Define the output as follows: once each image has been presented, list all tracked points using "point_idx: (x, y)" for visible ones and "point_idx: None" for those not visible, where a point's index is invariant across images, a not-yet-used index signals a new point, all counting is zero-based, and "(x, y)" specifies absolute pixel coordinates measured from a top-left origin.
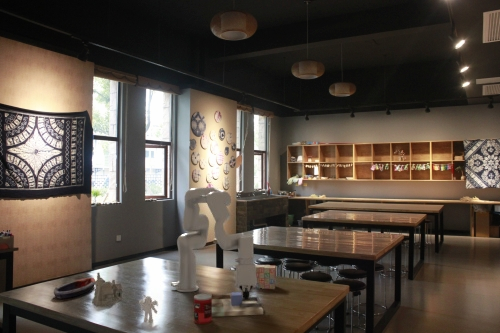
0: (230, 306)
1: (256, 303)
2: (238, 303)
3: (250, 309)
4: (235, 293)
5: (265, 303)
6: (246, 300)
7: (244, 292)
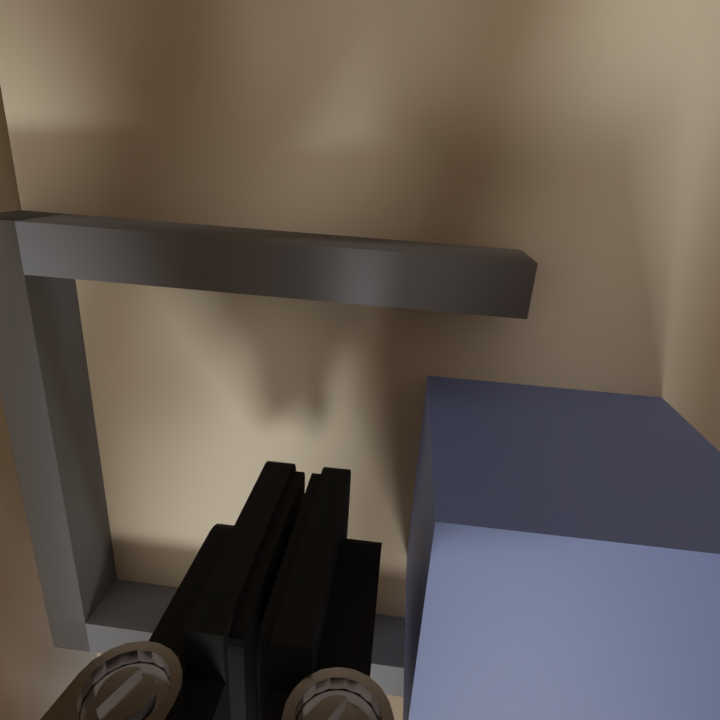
0: (707, 370)
1: (88, 244)
2: (520, 402)
3: (288, 43)
4: (615, 711)
5: (16, 532)
6: None
7: (322, 652)
